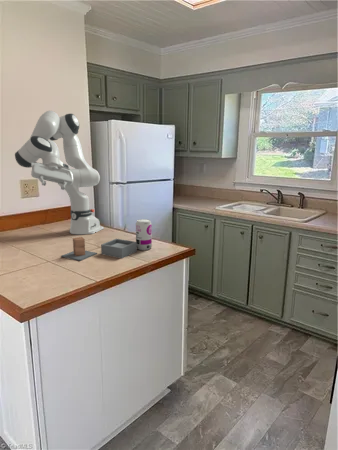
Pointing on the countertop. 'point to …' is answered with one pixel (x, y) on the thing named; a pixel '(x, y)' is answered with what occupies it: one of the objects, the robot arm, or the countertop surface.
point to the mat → (79, 258)
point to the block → (79, 246)
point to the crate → (118, 248)
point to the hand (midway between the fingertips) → (53, 186)
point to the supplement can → (143, 234)
